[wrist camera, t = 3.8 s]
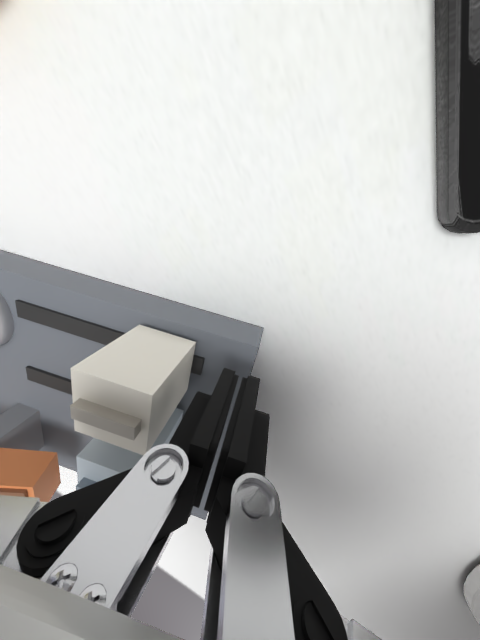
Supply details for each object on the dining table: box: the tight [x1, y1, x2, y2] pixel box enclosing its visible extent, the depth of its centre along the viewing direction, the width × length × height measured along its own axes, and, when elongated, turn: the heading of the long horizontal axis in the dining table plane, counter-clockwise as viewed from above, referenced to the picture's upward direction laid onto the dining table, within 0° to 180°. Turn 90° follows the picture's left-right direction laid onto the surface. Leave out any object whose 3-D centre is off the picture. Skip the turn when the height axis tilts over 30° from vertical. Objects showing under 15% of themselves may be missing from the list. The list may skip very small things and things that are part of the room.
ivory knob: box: [70, 325, 196, 455], centre depth 10 cm, size 3×3×4 cm
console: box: [0, 250, 263, 520], centre depth 15 cm, size 20×15×5 cm
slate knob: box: [76, 408, 183, 490], centre depth 12 cm, size 3×3×4 cm
